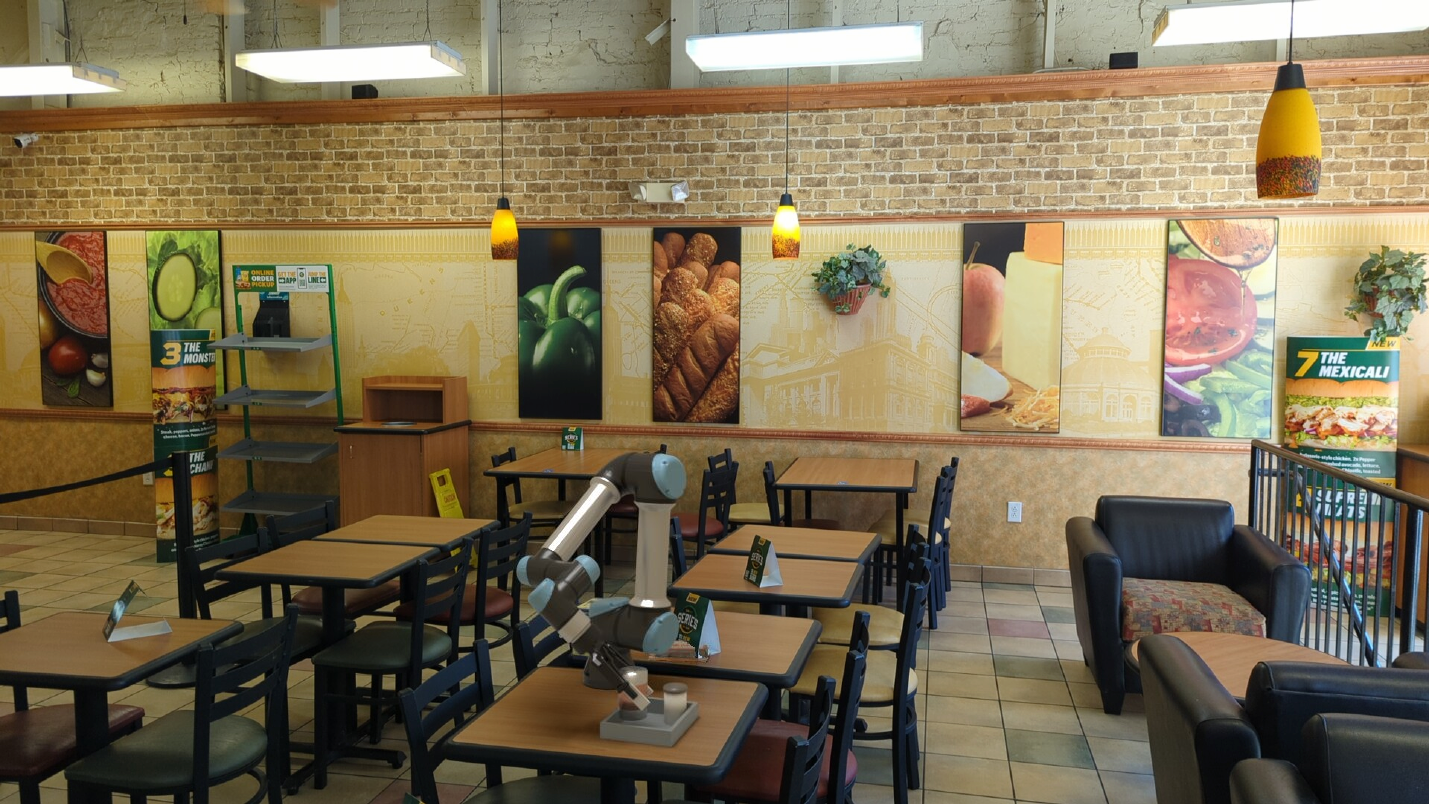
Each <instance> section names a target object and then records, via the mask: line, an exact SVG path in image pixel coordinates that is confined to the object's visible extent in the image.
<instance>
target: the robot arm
mask: <svg viewBox="0 0 1429 804" xmlns="http://www.w3.org/2000/svg"><path fill="white" fill-rule="evenodd" d="M589 486H590V487H588V489H587V491H586V492H584V494H583V495H582V497H580V499H579V500H578V501H577V503H576V504H575V505H574V506H573V507H572V509H571V510H570V512H569V513H568V514H567V515H566V516H565V517H564V519H563V520H562V521H561V523H560V524H559V525H558V527H557V528H555V530H553V533H552V534H551V535H550V536H549V537H548V538H547V540H546V541H545V543H544V544H542V546H541V547H540V549H539V550H538V551H537V553H536V554H535V555H526V556H524V557H522V558H521V559H520V560H519V562H518V564H517V567H516V576H517V577H516V578H517V579H518V581H519V582H520V583H521V584H523V585H526V586H530V587H532V588H535V589H534V590H532V592H530V594H528V596H527V601H528V603H529V604H530V606H531V607H532V608H533V609H534V611H535V612H536V614H538V615H540V616H541V617H542V618H543V619H544V620H545V622H547V623H548V625H550V626H551V627H552V628H553V629H554V630H555V631H556V632H557V633H558V634H559V635H558V637H559V638H560V639H562V638H563V639H564V640H565V641H566V642H567V644H568V643H569V644H570V643H571V644H570V646H571V648H572V650H573V649H574V650H575V651H576V652H577V653H578V654H579V655H583V654H585V653H586V652H588V653H589V656H588V659H587V661H586V663H585V665H584V669H583V673H582V682H583V684H584V685H585V686H587V687H590V688H593V689H601V690H612V689H613V690H616V691H617V694H618V693H619V694H620V693H621V692H622V691H623V692H624V693H625V694H626V695H627V696H628V697H629V698H630V699H631V700H632V701H633V702H634V703H635V704H636V705H637V706H638V708H639V709H640V710H641V711H642V710H643V709H644V708H645V707H646V706H647V705H648V704H649V703H650V701H649V700H648V699H647V698H646V697H645V696H644V695H643V694H642V693H641V692H640V691H639V690H638V689H637V688H636V687H635V686H634V685H633V684H632V683H630V684H629V682H628V681H627V680H626V678H625V677H624V676H623V675H622V673H621V672H620V671H619V669H621V668H624V667H629V666H636V665H635V661H634V659H633V656H632V654H631V651H632V650H633V651H637V652H641V653H644V654H647V655H650V654H656V655H660V654H663V653H665V652H667V651H668V650H669V649H670V648H671V647H672V645H673V644H674V642H675V641H677V638H678V635H679V630H680V621H679V619H678V616H677V615H676V613H674V612H672V602H671V601H670V600H669V599H668V597H667V587H668V586H667V584H668V567H669V550H670V549H669V547H670V546H669V545H670V528H671V527H670V525H671V510H672V509H673V508H674V507H675V506H676V505H677V499H679V498H680V497H682V495H684V493H685V490H686V487H687V473H686V469H685V466H684V464H683V463H682V462H681V460H680V459H679V458H678V457H676V456H674V455H669V454H666V453H649V452H648V453H647V452H638V451H630V452H625V453H622V454H620V455H618V456H616V457H614V458H612V459H611V460H610V461H608V462H607V463H606V464H604V465H603V466H602V467H601V468H600V469H599V470H598V471H597V472H596V473H595V474H594V476H593V477H592V478H591V480H590V481H589ZM626 495H633V496H634V498H633V499H634V500H633V503H634V504H635V505H636V506H637V507H638V527H637V528H638V529H637V543H636V544H637V545H636V546H637V549H636V564H635V565H636V567H635V583H634V584H635V585H634V586H635V587H634V597H632V598H631V599H630V598H629V597H628V596H613V597H604V598H605V599H600V600H597V601H594V602H593V603H591V605H590V607H589V616H588V617H587V616H586V615H585V614H584V613H583V612H582V611H581V610H580V609H579V608H578V607H577V606H578V605H577V604H576V603H577V602H578V601H579V599H581V598H582V597H583V596H584V594H585V593H587V591H588V590H590V589H591V587H593V585H594V584H595V582H596V581H597V580H598V578H599V577H600V575H601V570H600V566H599V564H598V563H597V562H596V560H594V559H593V558H592V557H590V555H589V556H588V555H587V554H581V555H579V556H577V557H576V558H574V559H573V561H572V562H570V561H569V560H570V558H571V557H572V556H573V555H574V553H575V552H576V551H577V549H578V548H579V546H581V544H582V543H583V542H584V541H585V539H586V537H588V535H589V534H590V532H592V530H594V528H595V526H596V525H597V524H598V522H600V520H601V518H602V517H603V516H604V515H605V513H606V512H607V510H609V508H610V506H612V504H617V503H619V501H620V500H621V499H622V498H623V497H624V496H626ZM653 692H654V690H653V689H652V688H651V687H650V686H649V685H648V696H647V697H650V696H651V695H652V694H653Z"/></svg>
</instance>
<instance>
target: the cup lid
mask: <svg viewBox="0 0 1429 804" xmlns="http://www.w3.org/2000/svg"><path fill="white" fill-rule="evenodd" d="M662 688H663V689H662V690H663V693H664V692H666V693H670V694H680V693H684V692H686V691H687V692H688V685H687V684H686V683H683V682H668V683H666V684H664V685H663V686H662Z"/></svg>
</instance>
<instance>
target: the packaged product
mask: <svg viewBox="0 0 1429 804" xmlns="http://www.w3.org/2000/svg"><path fill="white" fill-rule="evenodd" d="M684 641H685V640H675V642H674V644H673V645H672V647H671V648H670V649H669V650H668V651H667V652H665V653H663V654H660V655H655V654H649V655H655V657H656V658H658V657H659V658H664V657H665V658H670V657H673V658H695V656H696V652H695V647H693V646H691V645H690V644H687V642H684ZM708 649H709V648H708V647H707V645H703V646H702V647H700V648H699V655H700V656H702V658H704V657H705V658H707V657H708ZM649 655H648V657H649V658H655V657H653V656H649ZM708 658H709V657H708ZM702 661H707V662H708V660H707V659H703V660H702Z"/></svg>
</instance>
